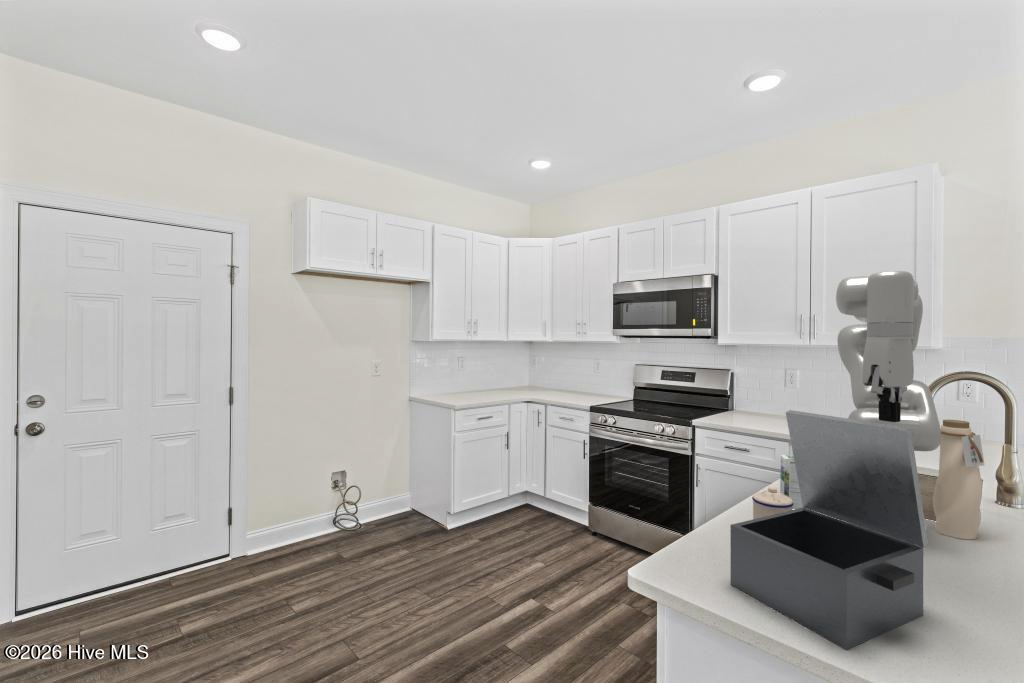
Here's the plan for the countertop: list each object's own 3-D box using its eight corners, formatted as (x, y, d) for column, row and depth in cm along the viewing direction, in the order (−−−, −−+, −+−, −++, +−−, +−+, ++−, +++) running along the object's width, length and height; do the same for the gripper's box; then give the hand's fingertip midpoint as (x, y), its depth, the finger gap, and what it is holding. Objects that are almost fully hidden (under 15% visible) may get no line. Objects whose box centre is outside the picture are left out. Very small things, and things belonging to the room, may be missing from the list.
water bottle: (997, 540, 115) (997, 424, 115) (971, 545, 112) (972, 426, 112) (947, 524, 125) (948, 417, 125) (923, 528, 122) (923, 419, 122)
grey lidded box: (792, 557, 107) (792, 504, 107) (939, 622, 82) (940, 553, 82) (720, 579, 98) (720, 520, 97) (863, 659, 73) (863, 581, 73)
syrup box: (779, 502, 142) (779, 454, 141) (801, 504, 140) (801, 455, 140) (784, 509, 136) (784, 458, 136) (808, 511, 134) (808, 460, 134)
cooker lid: (802, 507, 104) (815, 499, 106) (923, 547, 84) (936, 536, 86) (785, 412, 102) (799, 405, 104) (905, 430, 82) (919, 421, 84)
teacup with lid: (779, 545, 113) (779, 496, 113) (744, 531, 121) (744, 485, 121) (808, 534, 119) (808, 487, 119) (772, 522, 127) (772, 478, 127)
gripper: (889, 332, 105) (889, 416, 105) (848, 332, 99) (847, 420, 99) (931, 332, 98) (931, 421, 98) (889, 331, 92) (889, 426, 92)
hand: (889, 420), depth 98 cm, fingers closed
